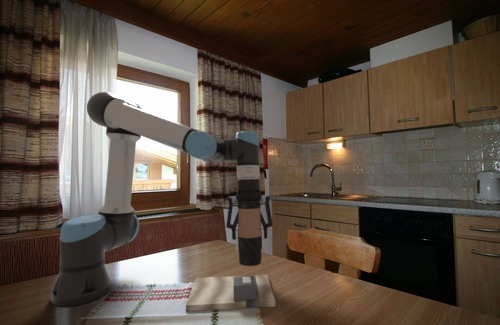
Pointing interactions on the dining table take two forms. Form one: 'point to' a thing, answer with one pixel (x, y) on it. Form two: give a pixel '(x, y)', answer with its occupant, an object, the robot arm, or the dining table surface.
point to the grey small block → (244, 288)
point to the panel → (227, 294)
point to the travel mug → (249, 232)
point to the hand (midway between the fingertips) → (249, 249)
